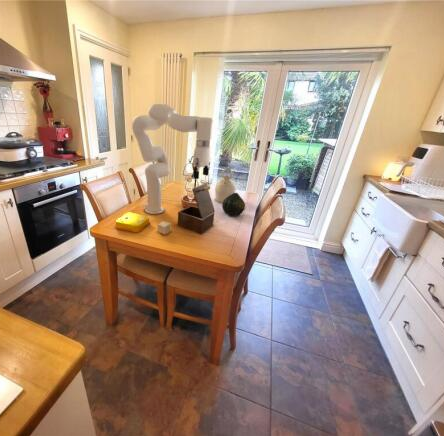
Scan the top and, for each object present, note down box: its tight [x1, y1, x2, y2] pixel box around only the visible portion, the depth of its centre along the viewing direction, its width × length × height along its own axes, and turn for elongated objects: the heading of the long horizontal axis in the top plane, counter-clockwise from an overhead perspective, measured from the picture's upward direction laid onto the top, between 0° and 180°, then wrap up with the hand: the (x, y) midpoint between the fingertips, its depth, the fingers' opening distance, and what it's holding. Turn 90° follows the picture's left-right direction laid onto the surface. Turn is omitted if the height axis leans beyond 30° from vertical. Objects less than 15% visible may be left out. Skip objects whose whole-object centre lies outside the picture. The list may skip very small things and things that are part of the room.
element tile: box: [115, 211, 150, 233], centre depth 137 cm, size 15×15×5 cm
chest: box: [177, 205, 215, 235], centre depth 139 cm, size 17×14×9 cm
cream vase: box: [214, 167, 236, 204], centre depth 177 cm, size 15×16×25 cm
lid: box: [191, 183, 216, 219], centre depth 130 cm, size 17×14×5 cm
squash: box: [221, 192, 246, 217], centre depth 157 cm, size 14×15×15 cm
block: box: [157, 221, 171, 236], centre depth 131 cm, size 5×5×5 cm
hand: (200, 176), depth 126 cm, fingers open, 9 cm apart
